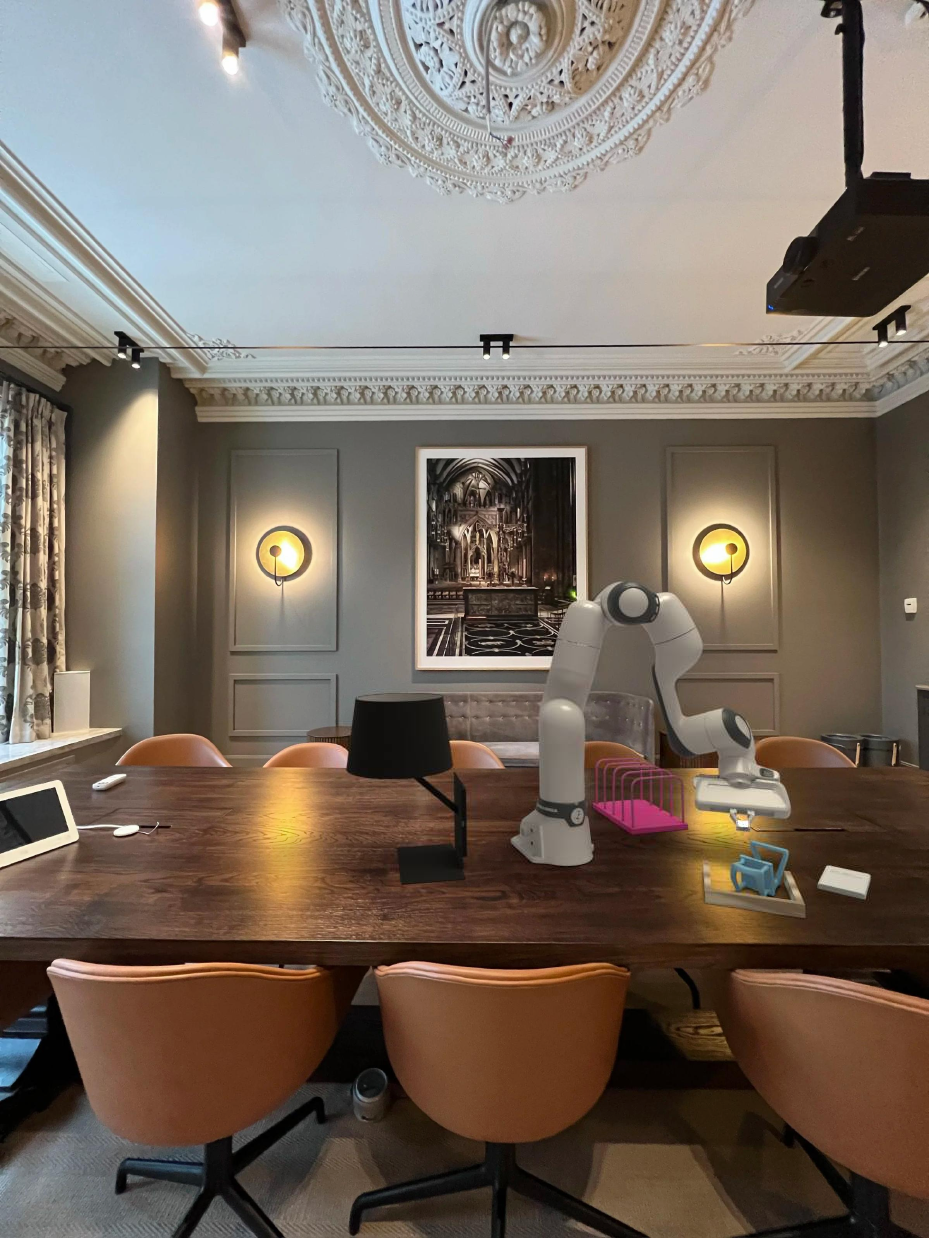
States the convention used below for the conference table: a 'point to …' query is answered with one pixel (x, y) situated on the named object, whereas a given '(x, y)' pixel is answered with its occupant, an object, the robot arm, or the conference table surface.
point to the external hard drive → (845, 882)
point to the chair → (758, 871)
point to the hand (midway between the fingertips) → (743, 830)
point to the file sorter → (640, 803)
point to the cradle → (756, 898)
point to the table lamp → (411, 769)
